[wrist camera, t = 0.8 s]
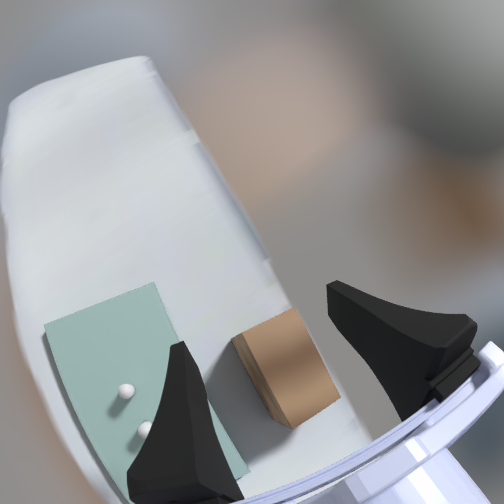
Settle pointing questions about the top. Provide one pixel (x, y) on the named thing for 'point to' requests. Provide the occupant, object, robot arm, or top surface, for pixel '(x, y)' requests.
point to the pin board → (121, 375)
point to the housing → (286, 369)
